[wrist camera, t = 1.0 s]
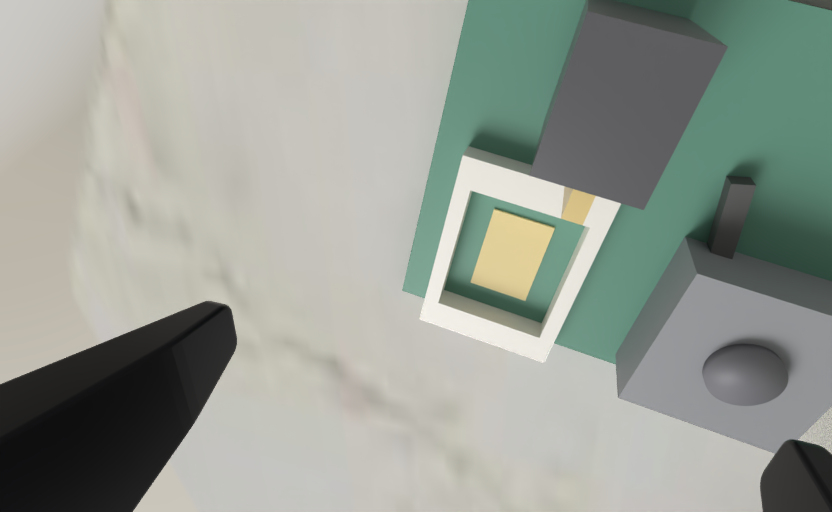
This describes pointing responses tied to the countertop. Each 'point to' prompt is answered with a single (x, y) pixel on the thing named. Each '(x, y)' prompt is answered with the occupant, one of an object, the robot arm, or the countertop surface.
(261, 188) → the countertop surface
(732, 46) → the board
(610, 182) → the plug
